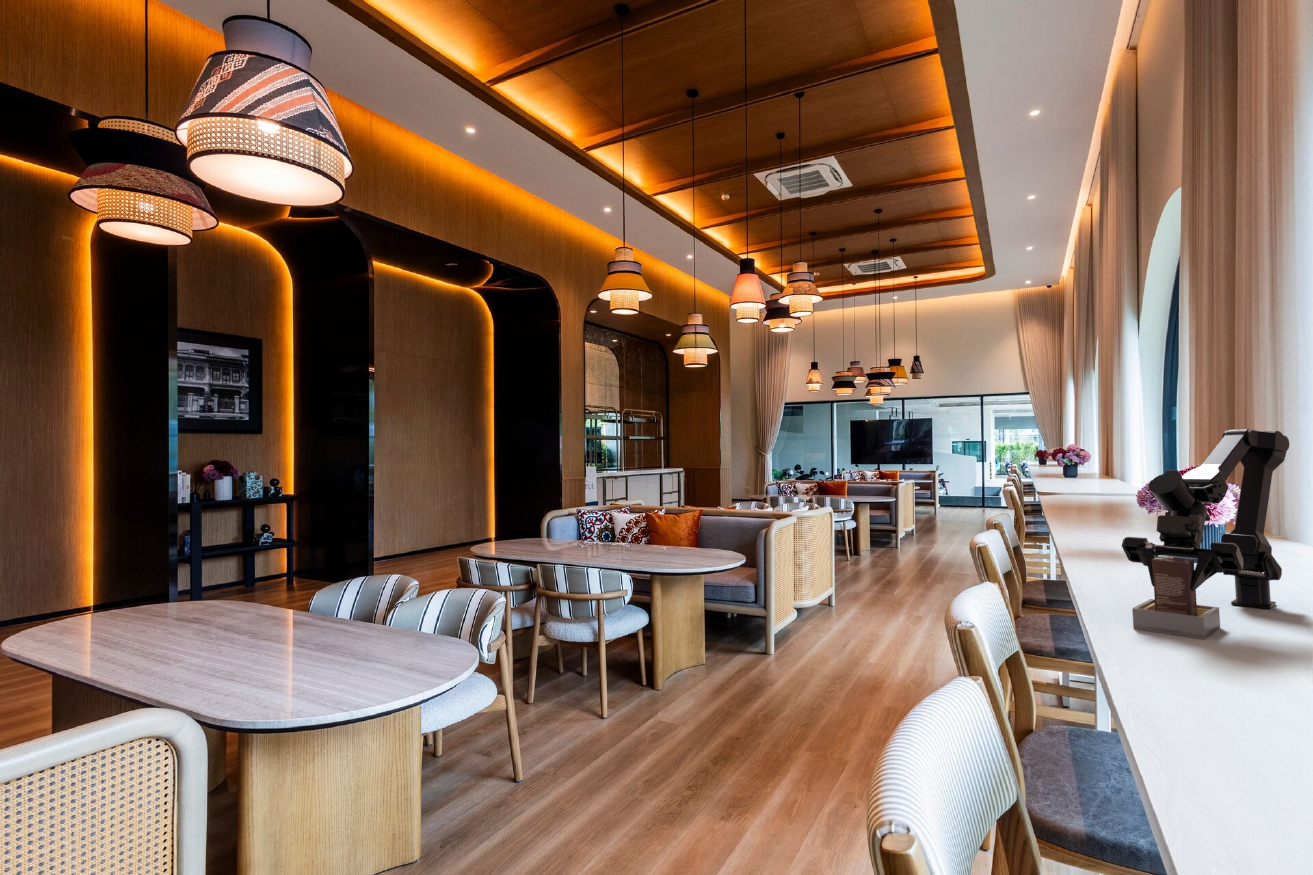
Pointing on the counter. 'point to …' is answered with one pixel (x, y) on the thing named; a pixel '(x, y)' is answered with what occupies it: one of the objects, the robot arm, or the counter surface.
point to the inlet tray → (1176, 621)
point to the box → (1174, 586)
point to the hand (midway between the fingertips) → (1172, 587)
